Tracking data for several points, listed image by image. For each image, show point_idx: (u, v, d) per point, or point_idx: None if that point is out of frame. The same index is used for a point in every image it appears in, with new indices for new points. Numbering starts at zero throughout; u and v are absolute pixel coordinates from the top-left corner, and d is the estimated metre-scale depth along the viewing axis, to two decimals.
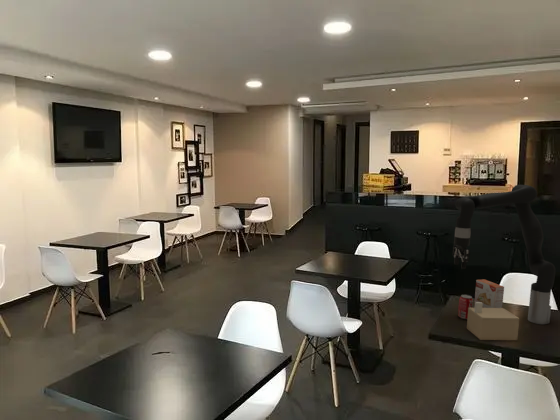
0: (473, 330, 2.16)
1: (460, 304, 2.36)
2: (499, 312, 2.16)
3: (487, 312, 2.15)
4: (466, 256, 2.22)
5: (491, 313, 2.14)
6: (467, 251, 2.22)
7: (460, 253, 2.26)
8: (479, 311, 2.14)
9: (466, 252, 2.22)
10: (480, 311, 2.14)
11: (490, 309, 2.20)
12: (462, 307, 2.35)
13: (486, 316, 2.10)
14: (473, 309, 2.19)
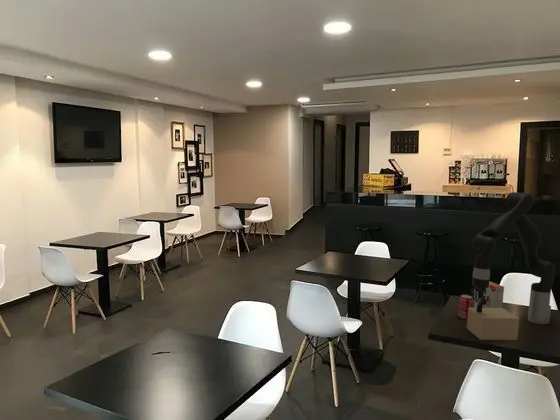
0: (473, 330, 2.16)
1: (460, 304, 2.36)
2: (499, 312, 2.16)
3: (487, 312, 2.15)
4: (483, 301, 2.09)
5: (491, 313, 2.14)
6: (486, 298, 2.08)
7: (478, 296, 2.12)
8: None
9: (484, 299, 2.08)
10: None
11: (490, 309, 2.20)
12: (462, 307, 2.35)
13: (486, 316, 2.10)
14: (473, 309, 2.19)
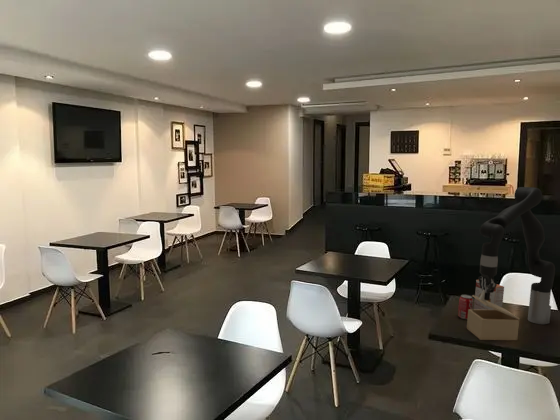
0: (473, 330, 2.16)
1: (460, 304, 2.36)
2: (501, 308, 2.16)
3: (490, 304, 2.15)
4: (491, 289, 2.09)
5: (494, 305, 2.14)
6: (493, 285, 2.07)
7: (485, 284, 2.11)
8: (484, 299, 2.13)
9: (492, 286, 2.07)
10: (485, 300, 2.13)
11: (492, 303, 2.20)
12: (462, 307, 2.35)
13: (490, 305, 2.09)
14: (477, 297, 2.18)
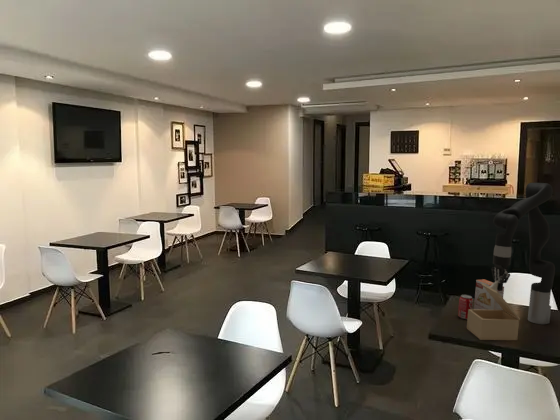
0: (473, 330, 2.16)
1: (460, 304, 2.36)
2: (504, 305, 2.16)
3: (497, 296, 2.15)
4: (504, 279, 2.08)
5: (500, 299, 2.13)
6: (507, 275, 2.07)
7: (499, 274, 2.11)
8: (494, 289, 2.13)
9: (506, 276, 2.07)
10: (494, 290, 2.13)
11: (497, 299, 2.19)
12: (462, 307, 2.35)
13: None
14: None
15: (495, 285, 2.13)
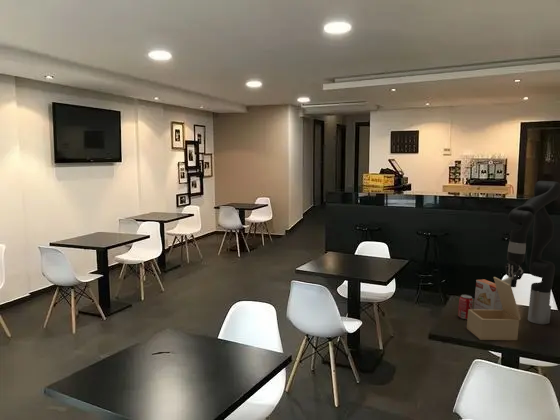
0: (473, 330, 2.16)
1: (460, 304, 2.36)
2: None
3: None
4: None
5: None
6: (521, 272, 2.07)
7: (513, 271, 2.11)
8: None
9: (520, 273, 2.07)
10: None
11: None
12: (462, 307, 2.35)
13: None
14: None
15: (508, 280, 2.13)
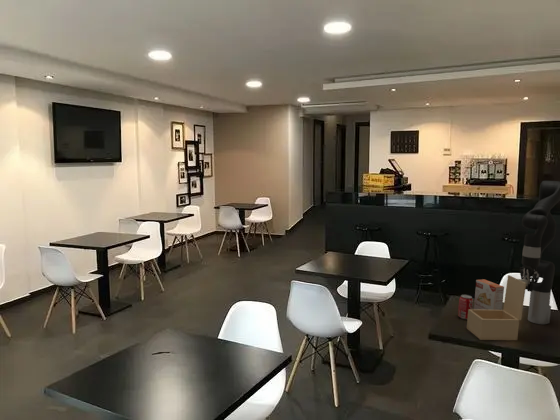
0: (473, 330, 2.16)
1: (460, 304, 2.36)
2: None
3: None
4: (535, 280, 2.09)
5: None
6: (537, 275, 2.07)
7: (528, 275, 2.11)
8: None
9: (536, 276, 2.07)
10: None
11: None
12: (462, 307, 2.35)
13: None
14: None
15: (523, 281, 2.13)
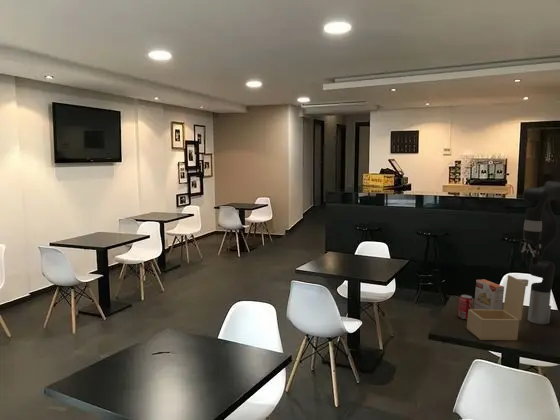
0: (473, 330, 2.16)
1: (460, 304, 2.36)
2: None
3: None
4: (539, 251, 2.06)
5: None
6: (540, 245, 2.06)
7: (531, 248, 2.09)
8: None
9: (539, 247, 2.05)
10: None
11: None
12: (462, 307, 2.35)
13: None
14: None
15: (523, 281, 2.13)
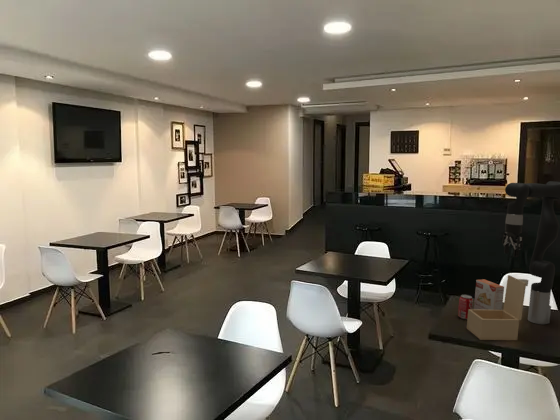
0: (473, 330, 2.16)
1: (460, 304, 2.36)
2: None
3: None
4: (519, 243, 2.13)
5: None
6: (520, 238, 2.12)
7: (512, 241, 2.16)
8: None
9: (519, 239, 2.12)
10: None
11: None
12: (462, 307, 2.35)
13: None
14: None
15: (523, 281, 2.13)
